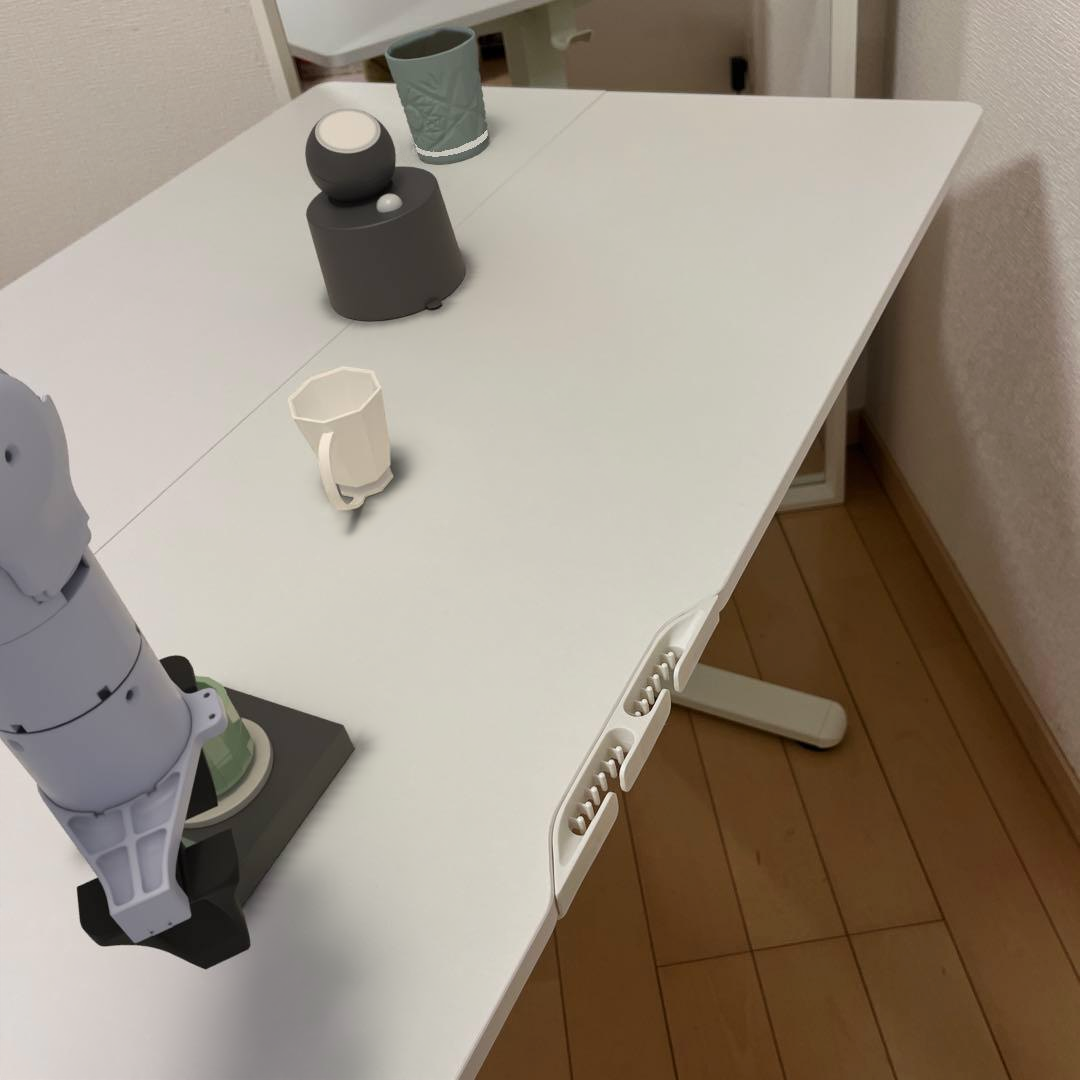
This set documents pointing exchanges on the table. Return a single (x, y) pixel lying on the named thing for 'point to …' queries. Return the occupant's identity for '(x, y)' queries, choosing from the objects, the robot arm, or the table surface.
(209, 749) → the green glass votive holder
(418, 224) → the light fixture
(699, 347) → the table surface
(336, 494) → the cup
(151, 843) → the robot arm
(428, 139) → the green embossed plant pot
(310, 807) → the scale
